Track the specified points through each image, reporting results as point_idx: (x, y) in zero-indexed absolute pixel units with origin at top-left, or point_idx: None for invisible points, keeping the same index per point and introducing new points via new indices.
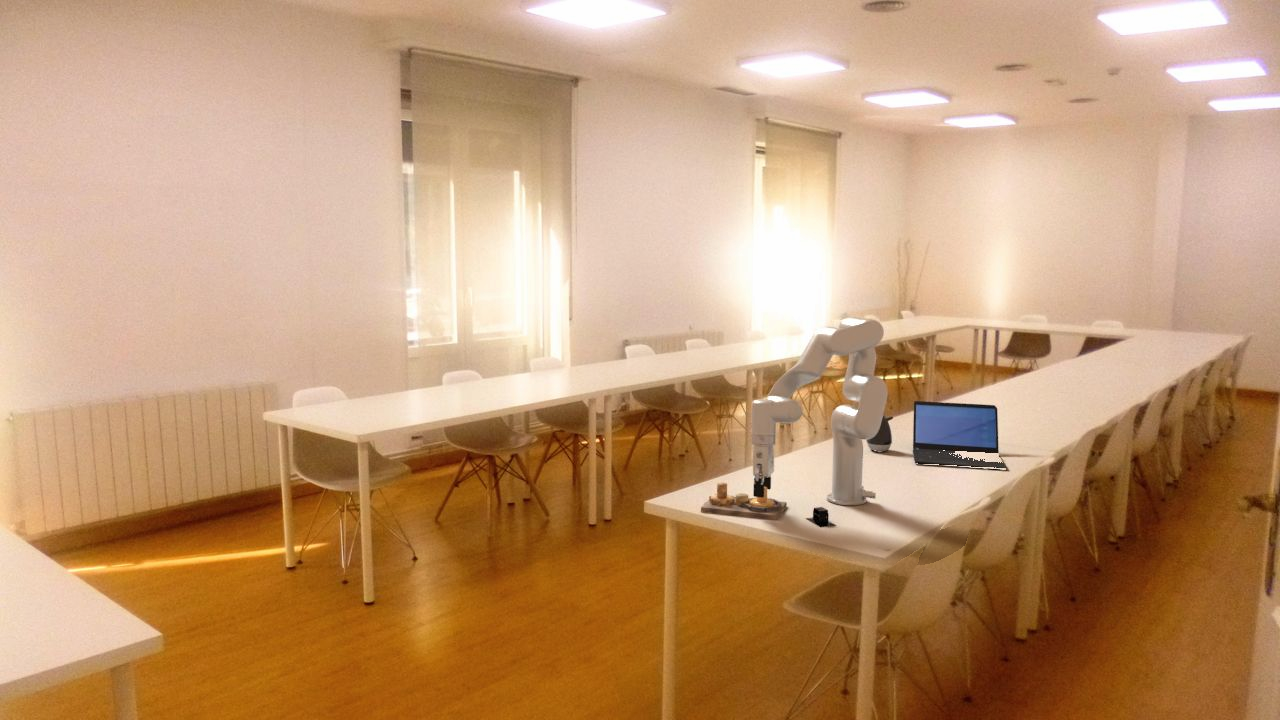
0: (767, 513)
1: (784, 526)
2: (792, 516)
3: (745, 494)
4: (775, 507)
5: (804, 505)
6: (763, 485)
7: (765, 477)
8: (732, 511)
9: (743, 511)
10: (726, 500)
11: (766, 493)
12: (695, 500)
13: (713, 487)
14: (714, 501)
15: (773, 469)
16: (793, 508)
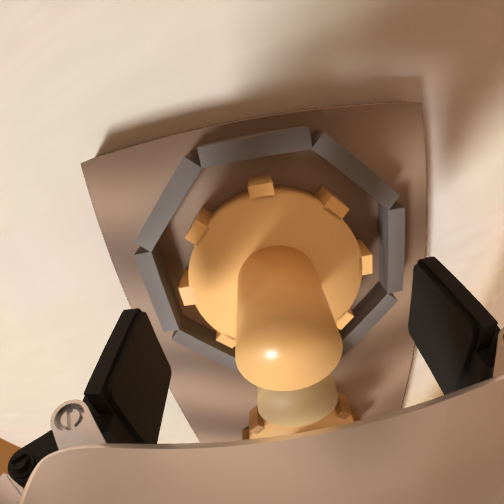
0: (411, 171)
1: (474, 44)
2: (279, 33)
3: (273, 398)
4: (339, 144)
5: (21, 89)
6: (492, 322)
7: (135, 427)
8: (411, 345)
9: None
10: (346, 417)
11: (294, 284)
12: None
13: None
14: None
15: (93, 485)
16: (101, 104)
